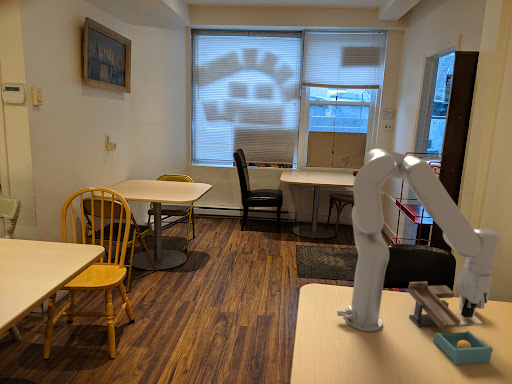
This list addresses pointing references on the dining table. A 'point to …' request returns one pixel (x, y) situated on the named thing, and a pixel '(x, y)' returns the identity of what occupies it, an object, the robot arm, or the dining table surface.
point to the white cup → (463, 304)
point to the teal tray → (463, 355)
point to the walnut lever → (439, 305)
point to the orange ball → (463, 344)
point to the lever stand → (423, 316)
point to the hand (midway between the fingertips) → (466, 316)
